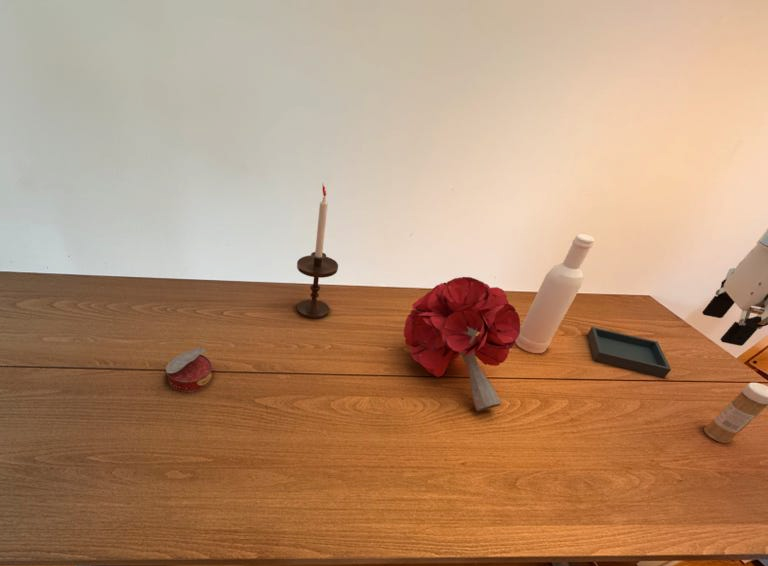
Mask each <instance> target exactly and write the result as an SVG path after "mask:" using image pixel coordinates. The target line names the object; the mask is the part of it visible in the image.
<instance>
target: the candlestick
mask: <svg viewBox="0 0 768 566" xmlns="http://www.w3.org/2000/svg"><path fill="white" fill-rule="evenodd" d="M322 195H323V196H322V199H321V201H320V202H319V208H318V219H317V229H316V240H315V251H313V252H311V253H310V254H309V255H305V256H302V257H300V258H299V259H298V260H297V262H296V269H297V271H298V272H300V274H302V275H305V276H307V277H312V278H313V282H312V284H311V285H310V286H309V288H310V291H311V293H309V296H310V297H311V299H304V300H301V301H300V302H298V304H297V307H296V308H297V309H296V311H297V313H298V315H300V316H301V317H303V318H305V319H308V320H321V319H324V318H326V317H327V316H328V315H329V312H330V306H329V305H328V304H327V303H326V302H324V301H322V300H320V299H317V298H319V297H320V294H319V293H318V292H319V291H320V290H321V285H319V280H320V279H321V278H323V279H324V278H329V277H332V276H334V275H336V274H337V273H338V271H339V263H338V262H337V261H336V260H335V259H333V258H331V257H328V256H327V253H324V252H323V251H324V243H325V234H326V224H327V223H326V222H327V216H328V215H327V214H328V204H329V203H328V202H327V198H326V196H327V191H326V187H325V185H324V184H322Z"/></svg>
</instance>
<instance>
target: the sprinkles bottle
mask: <svg viewBox="0 0 768 566" xmlns="http://www.w3.org/2000/svg"><path fill="white" fill-rule="evenodd" d="M767 407H768V385H766V384H763V383H759V382H749V383H747V384H746V385H745V386H744V387H743V388H742V389H741V391H740V393H739V394H738V395H737V396H736V397H735V398H734V399H733V400H731V401H730V402H729V404H727V405H726V406H725V408H724V409H722V410H721V411H720V412H719V413H718V415H716V416H715V417H714V419H712V421H711V422H710V423H709V424H708V425H706V426H705V427H704V429H703V431H704V433H705V434H706V436H707V437H709V438H710V439H712V440H714V441H716V442H719V443H722V444H728V443H730V442H731V441H732V439H733V438H734V437H735V436H736V435H738V434H739V433H741V432H742V431H743V430H744V429H745V428H746V427H747V426H748V425H750V424H751V423H752V421H753V420H754V419H756V417H758V416H759V415H760V413H762V412H763V411H764V410H765V409H766V408H767Z"/></svg>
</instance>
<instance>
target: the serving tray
mask: <svg viewBox="0 0 768 566" xmlns="http://www.w3.org/2000/svg"><path fill="white" fill-rule="evenodd" d="M586 336H587V340H588V344H589V347H590V352H591V355H592V357H593V361H594V362H597V363H601V364H605V365H610V366H613V367H616V368H617V367H618V368H622V369H626V370H630V371H634V372H638V373H642V374H647V375H649V376H654V377H659V378H663V379H665V378H666V377H667V375H668V374H669V373H670V372H671V371H672V368H671V366H670V364H669V362H668V360H667V358H666V356H665V354H664V352H663V349H662V348H661V345H660V344H659V341H657V340H653V339H649V338H643V337H639V336H634V335H630V334H625V333H621V332H617V331H613V330H608V329H604V328H599V327H595V326H591V327H590V329H589V331H588V332H587V334H586Z"/></svg>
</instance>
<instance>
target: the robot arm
mask: <svg viewBox="0 0 768 566" xmlns="http://www.w3.org/2000/svg"><path fill="white" fill-rule="evenodd" d="M734 304H735V305H736V306H737V307H738V308H739V309H740V310H741V313H740V316H739V320H738V321H734V322H733V323H732V324H731V326H730V327H729V328H728V329H727V330H726V332H725V333H724V334H723V335H722V336H721V338H720V342H721V343H724V344H730V345H734V346H739V347H741V346H744V345H745V344H746V343H747V341H748V340H750V338H751V337H752V336H753V335H754V334H755V333H756V332H757V330H761V329H762V328H763V327H767V326H768V228H767V229H765V231H764V232H763V234H762V235H761V236H760V238H759V239H758V240H757V241H756V244H755V246H754V247H753V248H752V249H751V250H750V251H749V252H748V253H747V254H746V255H745V256H744V257H743V259H742V260H741V261H739V263H738V264H737V266H736V267H733V268H730V269H728V271H727V273H726V275H725V278H724V279H723V280H722V281H721V284H720V288H718V289H717V290H716V291H715V295H714V296H713V297H712V299H711V300H710V301H709V303H708V304H707V305H706V306H705V308H704V309H703V310H702V312H701V314H702V315H703V316H707V317H712V318H717V319H723V317H725V315H727V313H728V312H729V310H730V309H731V308H732V307H733V306H734ZM751 314H756V316H752V317H750V315H751Z"/></svg>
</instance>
